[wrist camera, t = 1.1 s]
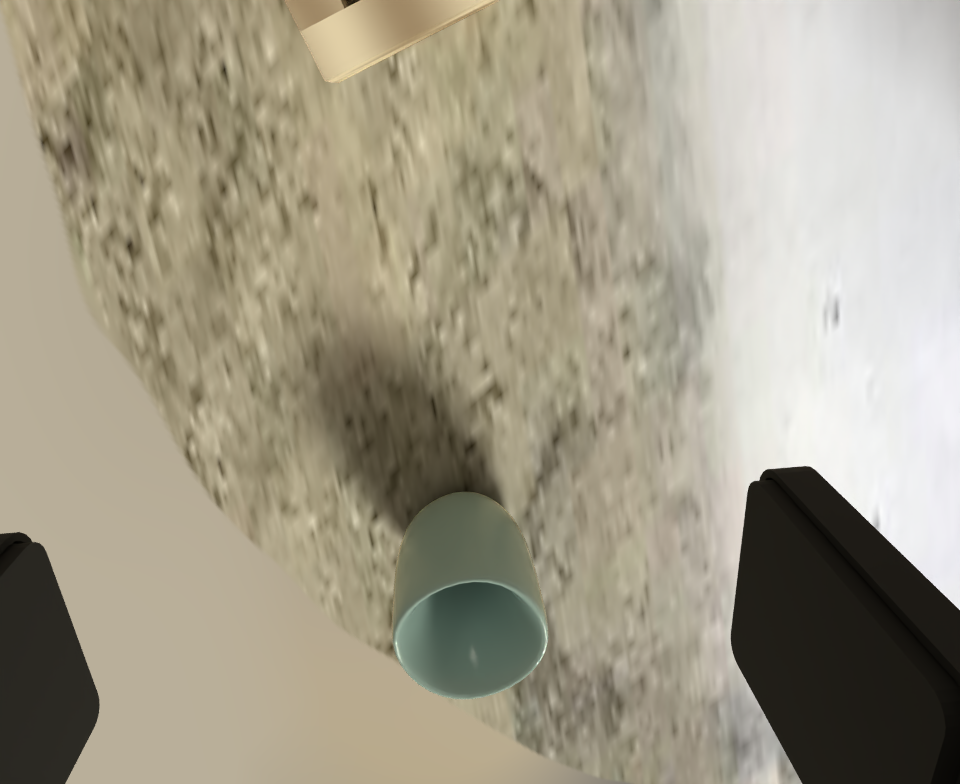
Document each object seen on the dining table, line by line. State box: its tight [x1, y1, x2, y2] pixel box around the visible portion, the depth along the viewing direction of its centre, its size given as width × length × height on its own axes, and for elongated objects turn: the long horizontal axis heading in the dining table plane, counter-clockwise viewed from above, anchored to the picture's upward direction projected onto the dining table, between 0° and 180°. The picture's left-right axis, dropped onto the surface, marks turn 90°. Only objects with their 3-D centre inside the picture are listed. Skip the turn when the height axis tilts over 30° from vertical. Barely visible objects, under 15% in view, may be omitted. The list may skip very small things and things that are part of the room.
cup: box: [392, 491, 548, 699], centre depth 39 cm, size 8×8×10 cm
